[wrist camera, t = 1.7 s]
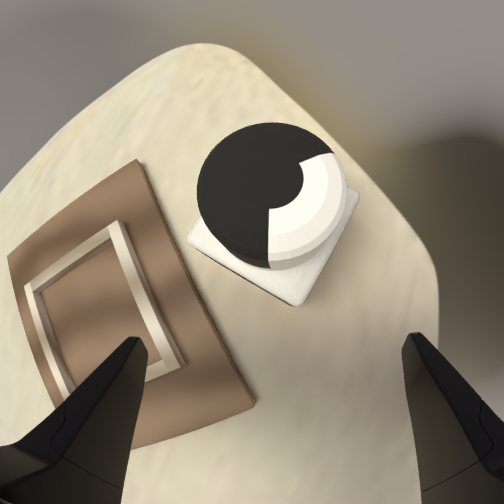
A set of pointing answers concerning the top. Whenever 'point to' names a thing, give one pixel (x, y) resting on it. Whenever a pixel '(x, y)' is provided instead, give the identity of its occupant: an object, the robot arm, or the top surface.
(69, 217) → the walnut stand
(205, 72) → the top surface
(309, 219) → the medicine bottle
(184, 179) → the top surface
